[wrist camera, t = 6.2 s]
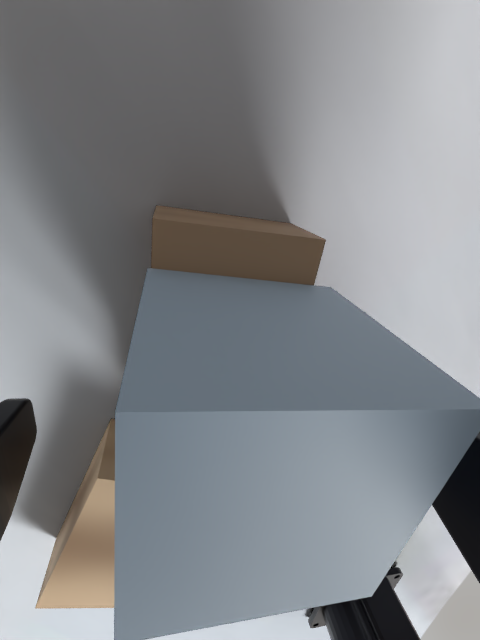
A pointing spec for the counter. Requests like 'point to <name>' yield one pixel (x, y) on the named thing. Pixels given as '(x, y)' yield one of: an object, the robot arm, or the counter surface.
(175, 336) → the cube
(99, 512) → the brick
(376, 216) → the counter surface
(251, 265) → the base brick
